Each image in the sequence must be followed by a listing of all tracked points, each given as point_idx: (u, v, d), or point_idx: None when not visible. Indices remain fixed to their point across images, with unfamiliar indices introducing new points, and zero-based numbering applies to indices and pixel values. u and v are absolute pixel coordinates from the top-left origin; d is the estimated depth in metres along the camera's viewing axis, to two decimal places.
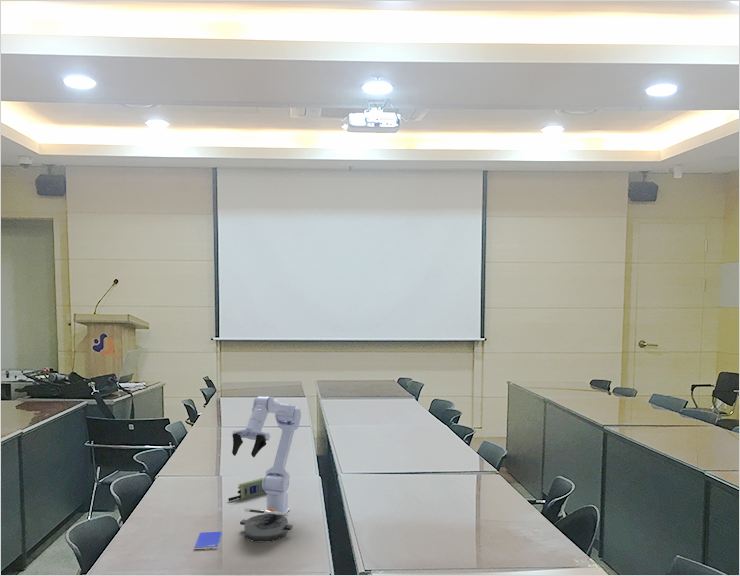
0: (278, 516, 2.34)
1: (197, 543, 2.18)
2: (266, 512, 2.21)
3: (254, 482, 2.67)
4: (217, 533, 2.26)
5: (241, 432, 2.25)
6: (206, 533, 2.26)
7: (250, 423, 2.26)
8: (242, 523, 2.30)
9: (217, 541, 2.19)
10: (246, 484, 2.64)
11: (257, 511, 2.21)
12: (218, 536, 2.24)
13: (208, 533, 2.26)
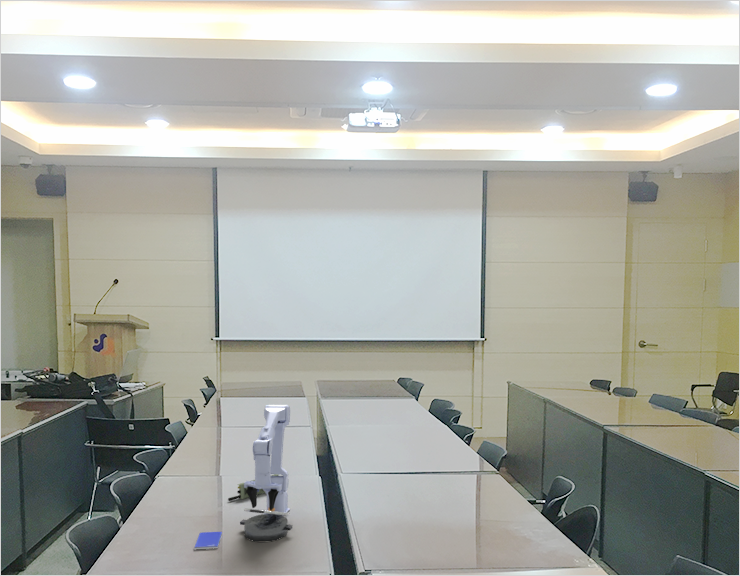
0: (278, 516, 2.34)
1: (197, 543, 2.18)
2: (266, 512, 2.21)
3: None
4: (217, 533, 2.26)
5: None
6: (206, 533, 2.26)
7: (258, 479, 2.23)
8: (242, 523, 2.30)
9: (217, 541, 2.19)
10: None
11: (257, 511, 2.21)
12: (218, 536, 2.24)
13: (208, 533, 2.26)
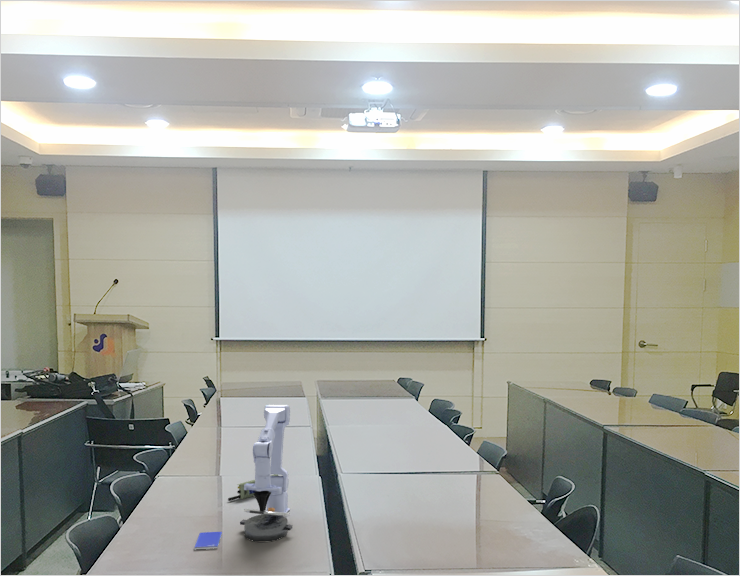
0: (278, 516, 2.34)
1: (197, 543, 2.18)
2: (266, 513, 2.21)
3: (254, 482, 2.67)
4: (217, 533, 2.26)
5: None
6: (206, 533, 2.26)
7: (258, 481, 2.23)
8: (242, 523, 2.30)
9: (217, 541, 2.19)
10: None
11: (257, 512, 2.20)
12: (218, 536, 2.24)
13: (208, 533, 2.26)
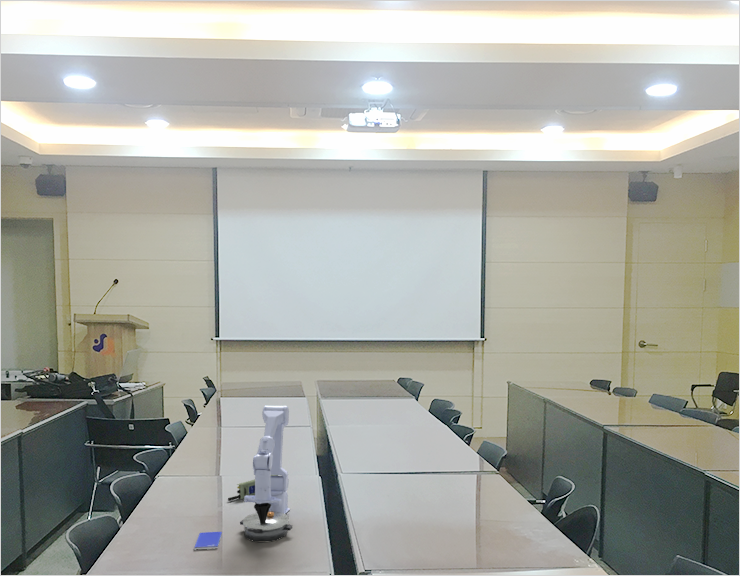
0: None
1: (197, 543, 2.18)
2: (264, 530, 2.20)
3: (253, 482, 2.67)
4: (217, 533, 2.26)
5: None
6: (205, 534, 2.26)
7: (258, 493, 2.23)
8: (242, 523, 2.30)
9: (217, 541, 2.19)
10: (245, 484, 2.64)
11: (255, 531, 2.19)
12: (218, 536, 2.24)
13: (208, 533, 2.26)
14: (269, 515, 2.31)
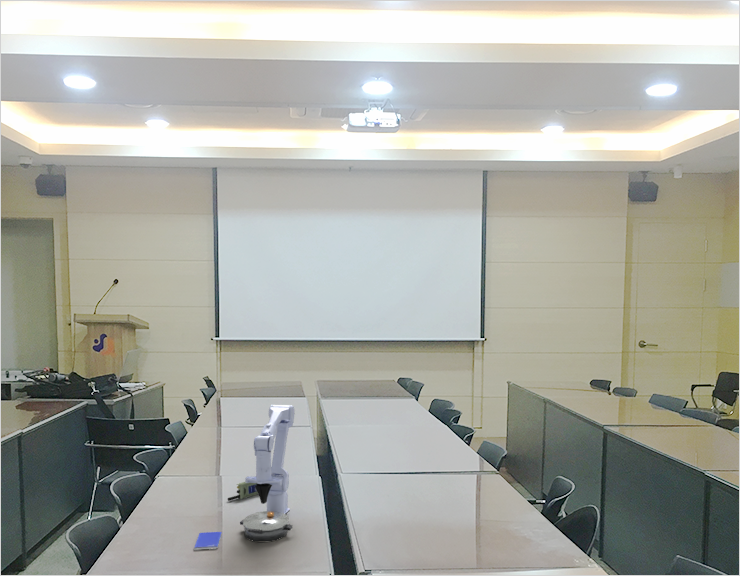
0: None
1: (197, 543, 2.18)
2: (264, 530, 2.20)
3: None
4: (217, 533, 2.26)
5: None
6: (205, 534, 2.26)
7: (259, 474, 2.29)
8: (242, 523, 2.30)
9: (217, 541, 2.19)
10: (245, 484, 2.65)
11: (255, 531, 2.19)
12: (218, 536, 2.23)
13: (208, 533, 2.26)
14: (269, 515, 2.31)
